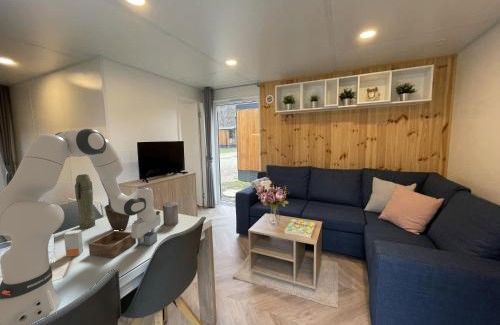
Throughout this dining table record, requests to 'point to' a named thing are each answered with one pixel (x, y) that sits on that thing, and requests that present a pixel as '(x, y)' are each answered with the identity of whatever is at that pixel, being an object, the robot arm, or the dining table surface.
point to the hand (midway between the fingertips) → (147, 238)
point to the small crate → (149, 238)
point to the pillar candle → (170, 213)
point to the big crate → (111, 244)
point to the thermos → (84, 201)
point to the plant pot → (116, 219)
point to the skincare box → (73, 243)
